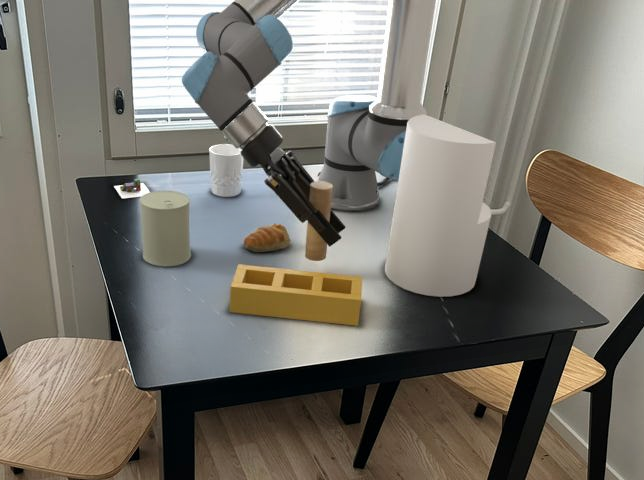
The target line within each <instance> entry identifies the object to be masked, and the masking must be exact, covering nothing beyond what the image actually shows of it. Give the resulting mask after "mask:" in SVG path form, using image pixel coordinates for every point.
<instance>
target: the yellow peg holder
mask: <svg viewBox="0 0 644 480" xmlns="http://www.w3.org/2000/svg"><path fill="white" fill-rule="evenodd" d="M229 288H230V290H229V291H230V292H229V293H230V295H229V296H230V297H229V301H230V302H229V313H233V314H235V313H236V314H243V315H251V316H252V315H253V316H261V317H262V316H263V317H271V318H281V319H290V320H300V321H310V322H319V323H329V324H335V325H336V324H337V325H348V326H359V319H360V313H361V304H362V290H363V276H357V275H347V274H339V273H338V274H337V273H329V272H317V271H307V270H298V269H289V268H280V267H279V268H278V267H269V266H261V265H248V264H240V263H239V264H238V265H237V267H236V270H235V273H234V276H233V278H232V281H231V284H230V287H229Z"/></svg>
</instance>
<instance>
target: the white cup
mask: <svg viewBox="0 0 644 480" xmlns="http://www.w3.org/2000/svg"><path fill="white" fill-rule="evenodd" d="M240 151H241V149H240V147H239V148H235V147H234V146H233V145H232V144H228V143H221V144H215V145H212V146H210V147H209V149H208V153H209V155H208V156H209V173H210V175H209V177H210V190H211V193H212V194H213V195H215V196H217V197H222V198H231V197H236V196H238V195H240V193H241V192H242V191H241V189H242V180H243V170H244V158H243V157H242V156H241V154H240Z"/></svg>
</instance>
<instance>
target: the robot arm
mask: <svg viewBox="0 0 644 480" xmlns="http://www.w3.org/2000/svg"><path fill="white" fill-rule="evenodd" d="M299 1H300V0H234V1H233V2H231V3H230V4H229V5H227V7H226V8H224V9H223V10H222V11H221V12H220V11H215V12H211V11H210V12H208V13H206V14H204V15H203V16H202V17H201V18H200V20H199V21H198V23H197V26H196V30H195V38H196V39H195V40H196V42H197V44H198V47H199V48H200V49H201V50H202V51H203V52H204V54H202V56H200V57H199V58H197V60H195V62H193V64H191V66H189V68H187V70H186V71H185V72H184V73H183V75H182V78H181V84H182V86H183V87H184V88H185V90H186V91H187V93H188V94H189V95H190V96H191V98H192V100H194V103H195V104H196V105H198V107H199V108H200V109H201V110H202V111H203V112H204V113H205V114H206V115H207V117H208V118H209V119H210V120H211V122H213V124H214V125H215V127H217V128H218V129H219V131H220V132H221V133H222V134H223V135H224V140H225V141H229V143H231V145H233V146H234V147H235V148H239V147H240V149H241V151H240V154H241V156H242V157H243V160H245V162H246V163H247V164H248V165H249V166H250V167H251V168H255V167H257V166H258V165H260V166H261V168H262V169H263V172H264V173H265V174H266V176H267V178H265V179H263V182H264V184H265V185H266V186H267V187H268V188H270V190H272V191H273V192H274V193H275V194H276V196H277V197H278V198H279V199H280V200H281V201H282V202H283V204H284V205H285V206H286V207H287V208H288V209H289V210H290V211H291V212H292V214H293V215H294V216H295V217H296V218H297V219H298V221H299V222H300V223H302V224H304V223H306V222H307V223H308V222H309V223H310V224H311V226H312V227H313V228H314V229H315V230H316V231H317V233H318V234H319V235H320V236H321V237H322V239H323V240H324V241H325V242H326V243H327V247H329V248H330V247H332V246H333V245H335V244H336V243H337V242H339V241H340V240H342V236H341V234H340V233H341V232H342V231H344V230H345V229H346V228H347V227H346V226H345V224H344V222H342V221H341V219H340V218H339V217H338V215H337V214H336V213H335V211H333V210H336V211H343V212H360V211H366V210H370V209H373V208H375V207H376V206H377V205H378V204H379V199H380V190H379V188H378V187H382V186H384V185H385V184H386V183H387V182H388V181H389V180H393V181H396V182H397V181H398V180H399V174H400V167H401V161H402V154H403V148H404V141H405V135H406V128H407V122H408V121H409V119H410V118H413V117H415V116H419V115H423V114H425V115H427V110H426V108H425V107H424V106H423V105H422V95H423V88H424V81H425V75H426V69H427V62H428V56H429V49H430V43H431V36H432V29H433V23H434V16H435V9H436V4H437V3H436V2H437V0H388V8H387V14H386V15H387V16H386V25H385V33H384V41H383V42H384V43H383V50H382V57H381V67H380V75H379V83H378V84H379V85H378V92H377V96H374V95H343V96H338V97H335V98H334V99H332V100H331V101H330V104H329V107H328V112H327V115H326V116H327V123H326V124H327V125H326V136H325V148H324V160H323V164H322V165H323V166H322V169H321V171H319V172H318V173H317V181H324V182H328V183H331V184H332V185H333V190H332V201H331V211H330V222H329V221H328V220H327V219H326V218H325V217H324V215H323V214H322V213H321V212H320V211H319V210H318V211H316V209H315V208H314V207H313V205H312V204H311V202H310V201H309V197H310V185H311V183H313V182H316V181H315V180H314V179H313V177H312V176H311V175H310V173H308V171H307V170H306V168H305V167H304V166H303V165H302V163H301V162H300V161H299V160H298V158H297V156H296V155H295V153H294V152H293V151H292V150H289V151H288V152H286V151H284V149H282V148H281V147H280V145H281V144H282V143H283V141H284V137H283V135H282V134H280V132H279V131H278V130H277V128H276V127H275V126H274V124H271V123H269V124H268V121H269V118H268V117H267V116H266V115H265V113H264V112H263V111H262V110H261V109H260V108H259V106H258V105H257V104H256V103H255V102H254V101H253V99H252V98H251V97H250V96H249V93H250V92H252V90H254V88H255V87H257V86H258V85H259V84H260V83H261V82H263V80H265V79H266V78H267V77H268V76H269V75H271V73H272V72H273V71H274V70H276V69H277V68H278V67H279V66H281V65H282V63H283V62H284V61H285V60H286V59H287V57H289V56H290V55H291V54H292V52H293V51H294V40H293V38H292V36H291V33H290V31H289V30H288V28H287V27H286V26H285V25H284V23H283V22H282V21H281V19H280V18H281V17H282V16H283V15H284V14H286V13H287V12H288V11H289V10H290V9H291V8H293V7H294V6H295V5H296V4H297V3H298V2H299ZM376 173H378V174H379V175H380V176H382V177H384V179H383V180H381V181H379V182H378V179H377V175H376Z"/></svg>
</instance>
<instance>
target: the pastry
mask: <svg viewBox="0 0 644 480" xmlns="http://www.w3.org/2000/svg"><path fill="white" fill-rule="evenodd" d="M290 244H291V238H290V235H289V233H288V230H287V227H285V226H284V225H282V224H281V223H273V224H271V225H266V226H260V227H258V228H257V229H256V230H255V231H253V232H250V233H249V235H247V236H246V237H245V238H244V239H243V245H242V246H243V248H245V249H247V250H249V251H252V252H253V253H254V252H255V253H263V252H264V253H265V252H267V253H268V252H272V251H273V252H274V251H275V252H276V251H278V250H280V249H281V250H284V249H286V248H287V247H288V246H289V245H290Z"/></svg>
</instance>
